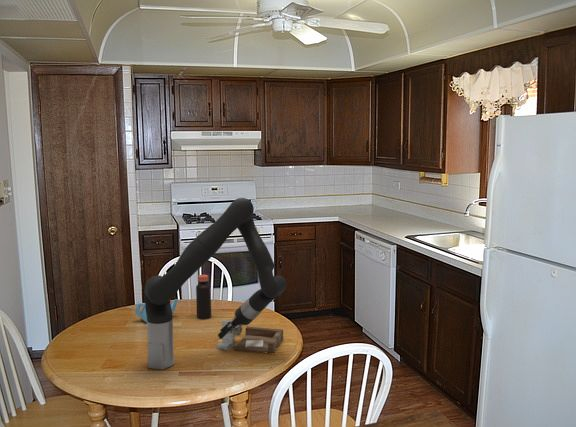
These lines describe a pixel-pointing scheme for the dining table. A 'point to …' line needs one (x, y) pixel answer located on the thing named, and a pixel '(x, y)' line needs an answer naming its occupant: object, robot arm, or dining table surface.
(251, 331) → the arena
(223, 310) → the dining table surface
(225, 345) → the bracket
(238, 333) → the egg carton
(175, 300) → the teapot
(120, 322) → the dining table surface
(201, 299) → the bottle
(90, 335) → the dining table surface
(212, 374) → the dining table surface
